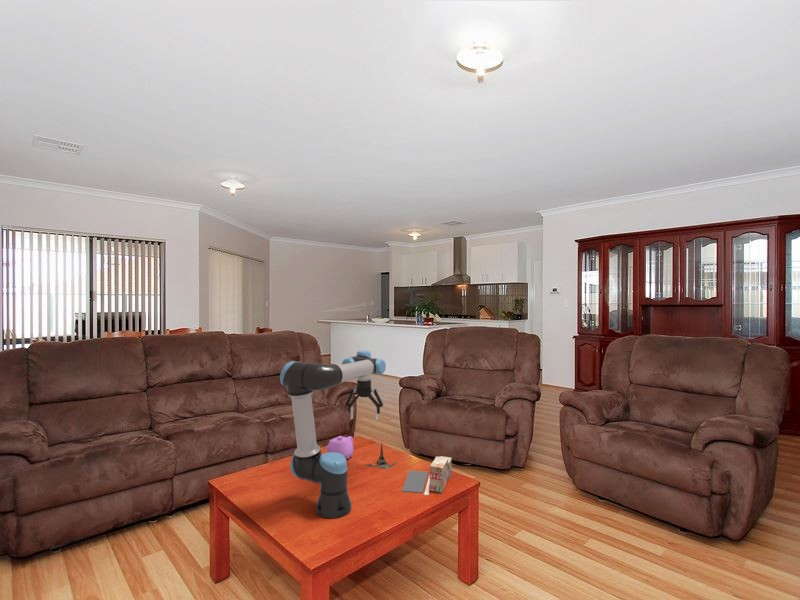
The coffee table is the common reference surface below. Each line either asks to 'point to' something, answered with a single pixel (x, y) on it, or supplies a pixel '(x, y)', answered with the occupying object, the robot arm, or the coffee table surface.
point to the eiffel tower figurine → (381, 462)
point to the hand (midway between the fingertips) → (364, 419)
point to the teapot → (341, 446)
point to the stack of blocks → (440, 473)
